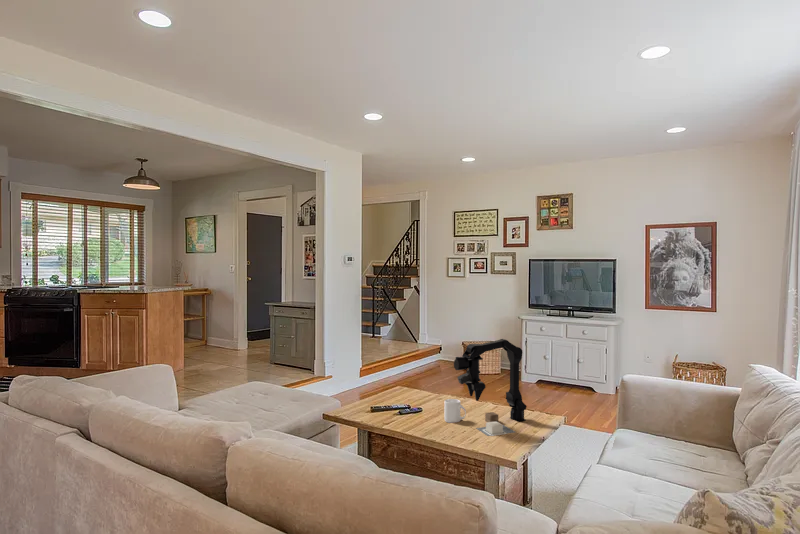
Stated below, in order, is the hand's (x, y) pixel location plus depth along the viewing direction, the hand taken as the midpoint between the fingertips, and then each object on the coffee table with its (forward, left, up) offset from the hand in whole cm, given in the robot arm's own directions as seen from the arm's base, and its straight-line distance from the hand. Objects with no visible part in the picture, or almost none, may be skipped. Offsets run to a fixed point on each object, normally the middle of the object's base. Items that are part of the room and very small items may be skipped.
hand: (474, 398), depth 247 cm
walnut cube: (-11, 0, -14) cm, 18 cm away
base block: (-4, +14, -13) cm, 20 cm away
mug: (+6, -9, -14) cm, 18 cm away
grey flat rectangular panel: (-6, +12, -14) cm, 19 cm away
